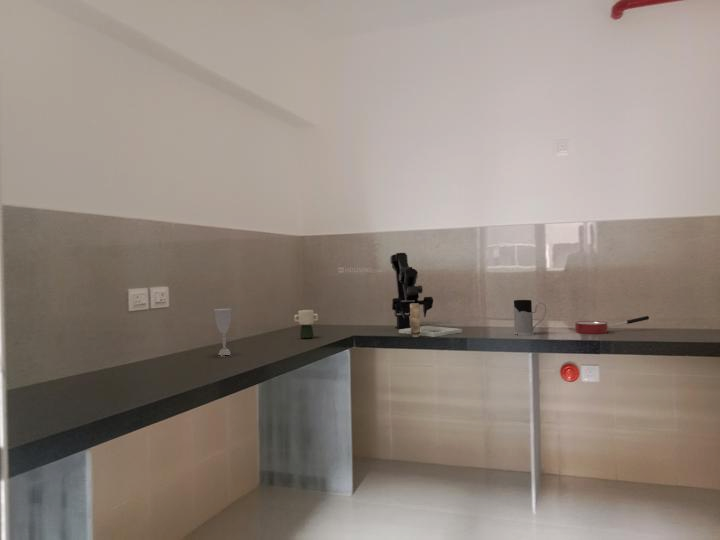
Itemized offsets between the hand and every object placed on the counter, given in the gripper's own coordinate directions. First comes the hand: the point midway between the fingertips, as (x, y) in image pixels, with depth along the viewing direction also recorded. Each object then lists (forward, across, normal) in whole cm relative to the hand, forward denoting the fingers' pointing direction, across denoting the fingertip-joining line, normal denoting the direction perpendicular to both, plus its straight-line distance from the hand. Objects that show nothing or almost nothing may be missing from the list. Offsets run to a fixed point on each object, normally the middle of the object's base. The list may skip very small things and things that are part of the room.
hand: (415, 317), depth 240 cm
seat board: (-2, +9, +15) cm, 18 cm away
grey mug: (+12, +50, +1) cm, 51 cm away
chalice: (+25, -80, -12) cm, 85 cm away
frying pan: (+14, +86, -1) cm, 87 cm away
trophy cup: (-2, -49, +15) cm, 52 cm away
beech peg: (+6, 0, +7) cm, 9 cm away
